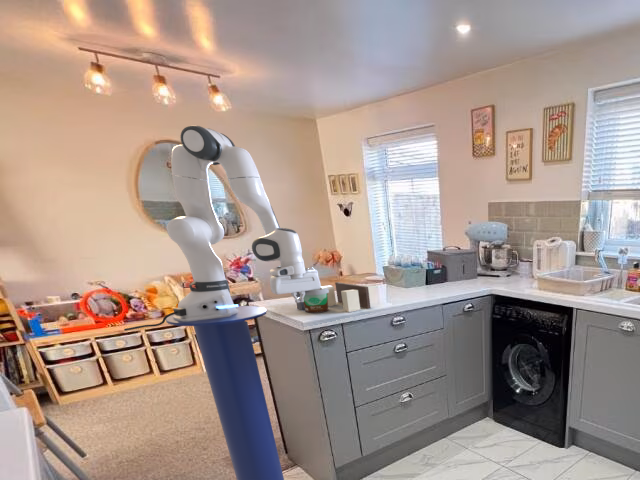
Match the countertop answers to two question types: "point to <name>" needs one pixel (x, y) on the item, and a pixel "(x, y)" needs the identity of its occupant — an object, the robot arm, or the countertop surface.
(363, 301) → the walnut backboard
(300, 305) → the grey block
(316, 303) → the food container
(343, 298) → the cream block front
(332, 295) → the cream block back
